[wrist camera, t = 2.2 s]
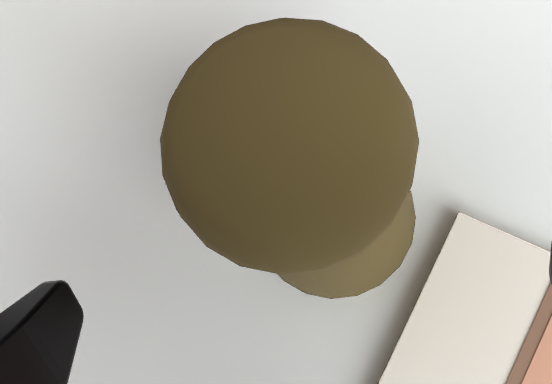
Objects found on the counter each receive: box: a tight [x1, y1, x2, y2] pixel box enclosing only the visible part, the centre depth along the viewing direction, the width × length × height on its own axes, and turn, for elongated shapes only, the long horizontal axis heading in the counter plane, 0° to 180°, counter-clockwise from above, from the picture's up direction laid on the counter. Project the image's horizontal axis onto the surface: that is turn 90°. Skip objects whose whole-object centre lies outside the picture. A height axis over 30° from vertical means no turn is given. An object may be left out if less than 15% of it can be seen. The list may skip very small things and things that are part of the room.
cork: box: [160, 18, 419, 299], centre depth 14 cm, size 6×6×11 cm
